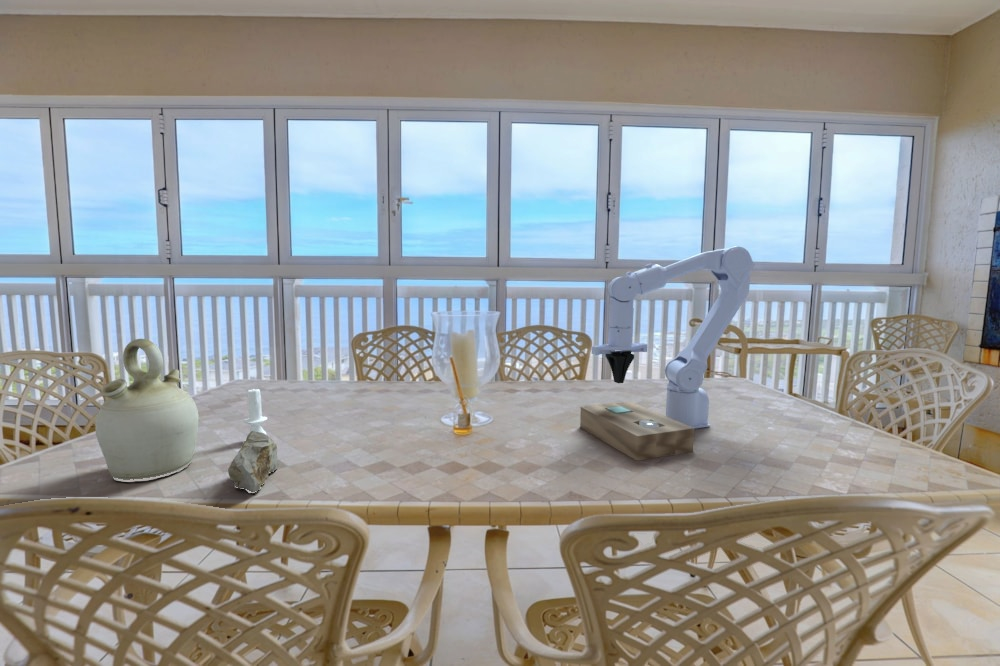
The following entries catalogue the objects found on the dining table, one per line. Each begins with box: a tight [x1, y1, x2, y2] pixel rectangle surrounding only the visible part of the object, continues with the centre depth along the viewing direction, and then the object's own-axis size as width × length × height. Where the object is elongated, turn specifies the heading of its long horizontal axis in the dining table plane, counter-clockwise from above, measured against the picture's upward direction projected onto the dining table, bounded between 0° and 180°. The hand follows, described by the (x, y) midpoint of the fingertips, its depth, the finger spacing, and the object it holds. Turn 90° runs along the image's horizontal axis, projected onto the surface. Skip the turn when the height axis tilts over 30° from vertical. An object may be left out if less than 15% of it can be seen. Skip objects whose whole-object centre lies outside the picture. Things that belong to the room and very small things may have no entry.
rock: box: [227, 431, 279, 492], centre depth 82 cm, size 12×7×10 cm, turn 7°
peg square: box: [607, 406, 631, 414], centre depth 109 cm, size 4×4×5 cm
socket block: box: [579, 401, 695, 462], centre depth 104 cm, size 14×22×5 cm, turn 20°
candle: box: [243, 388, 268, 439], centre depth 103 cm, size 5×5×12 cm
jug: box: [94, 338, 200, 480], centre depth 87 cm, size 15×16×25 cm
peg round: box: [639, 420, 659, 429], centre depth 99 cm, size 4×4×5 cm
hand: (618, 382), depth 114 cm, fingers closed
